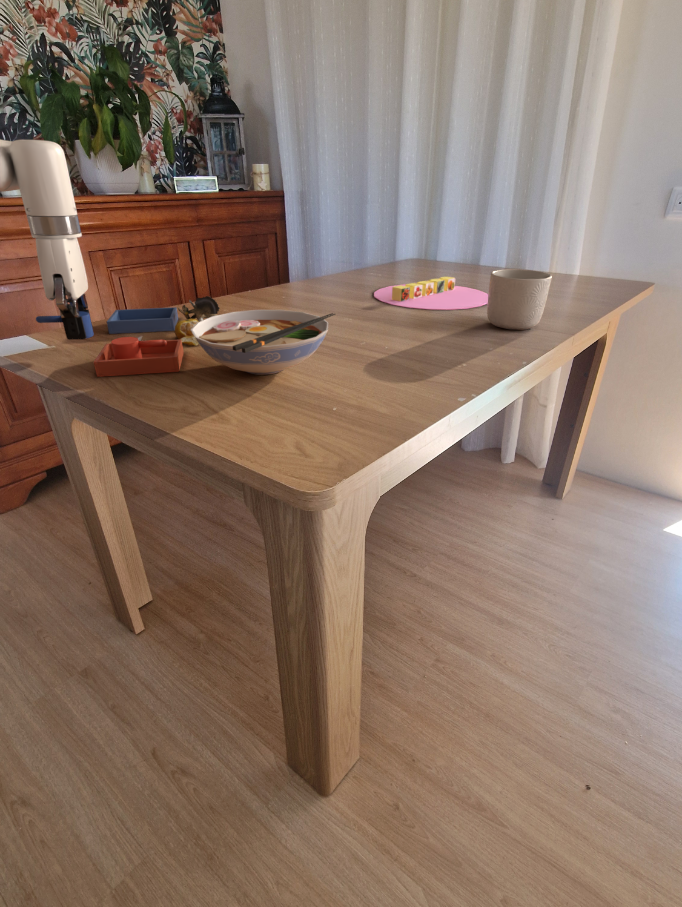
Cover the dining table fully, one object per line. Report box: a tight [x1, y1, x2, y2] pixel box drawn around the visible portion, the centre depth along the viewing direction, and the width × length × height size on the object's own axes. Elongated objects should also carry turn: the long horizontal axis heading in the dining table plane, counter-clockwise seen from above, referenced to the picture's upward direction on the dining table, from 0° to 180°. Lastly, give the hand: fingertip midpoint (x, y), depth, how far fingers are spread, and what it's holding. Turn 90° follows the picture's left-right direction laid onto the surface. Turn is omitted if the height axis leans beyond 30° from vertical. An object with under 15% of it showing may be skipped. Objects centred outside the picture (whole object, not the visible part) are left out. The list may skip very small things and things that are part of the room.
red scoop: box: [110, 336, 167, 360], centre depth 87 cm, size 9×4×4 cm, turn 101°
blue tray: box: [106, 306, 179, 335], centre depth 109 cm, size 13×10×3 cm
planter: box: [486, 268, 553, 331], centre depth 108 cm, size 12×12×11 cm
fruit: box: [173, 318, 200, 346], centre depth 100 cm, size 8×8×4 cm
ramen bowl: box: [191, 309, 336, 376], centre depth 84 cm, size 25×23×8 cm
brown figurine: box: [177, 295, 221, 322], centre depth 109 cm, size 8×7×9 cm
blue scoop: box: [35, 311, 95, 340], centre depth 91 cm, size 9×4×4 cm, turn 101°
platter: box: [373, 276, 489, 311], centre depth 136 cm, size 32×32×3 cm
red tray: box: [93, 339, 185, 378], centre depth 87 cm, size 13×10×3 cm
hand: (80, 333), depth 92 cm, fingers closed on blue scoop, 4 cm apart
